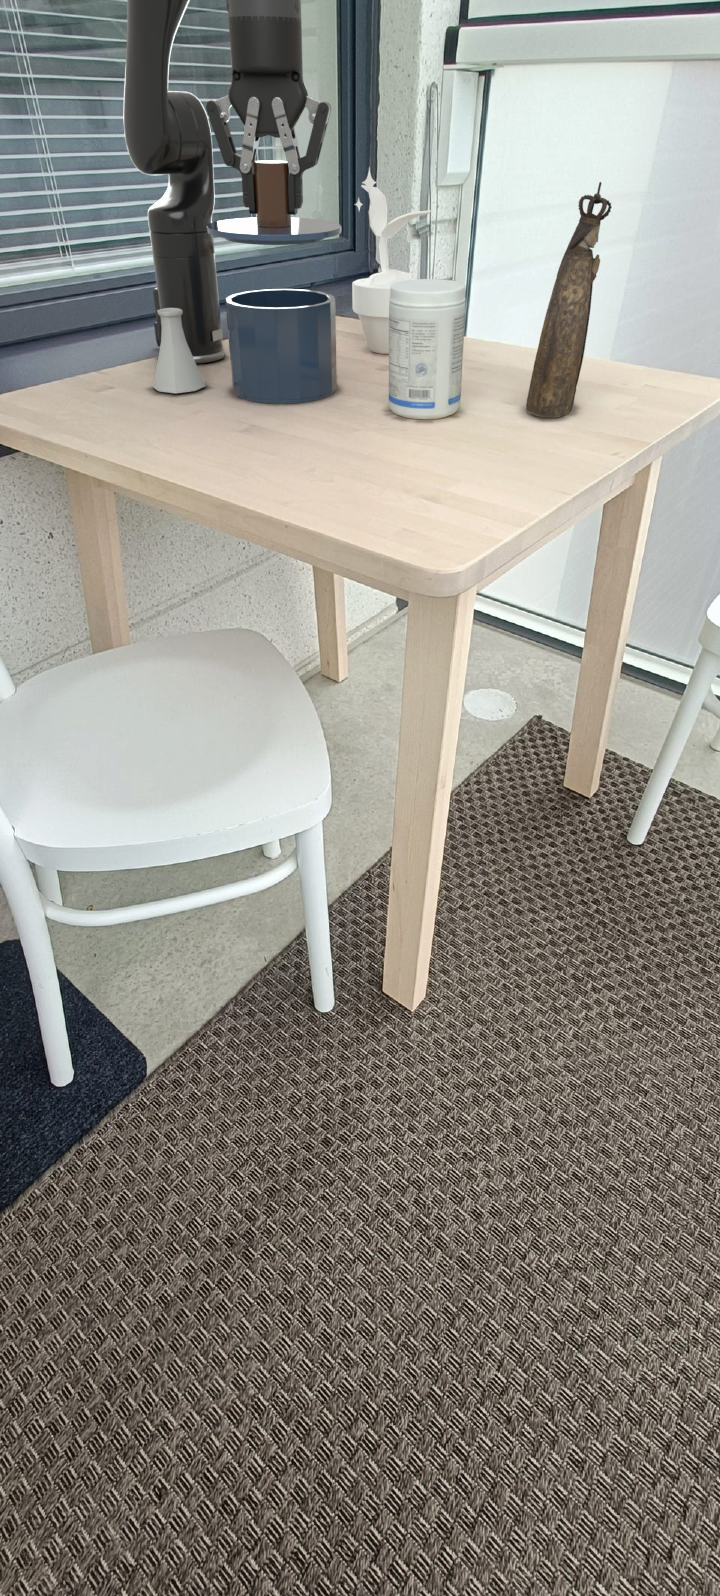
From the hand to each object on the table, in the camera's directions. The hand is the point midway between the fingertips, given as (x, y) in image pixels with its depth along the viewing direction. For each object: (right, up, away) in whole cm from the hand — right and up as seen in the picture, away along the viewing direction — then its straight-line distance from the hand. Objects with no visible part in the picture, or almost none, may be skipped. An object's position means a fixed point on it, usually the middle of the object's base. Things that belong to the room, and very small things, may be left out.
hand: (273, 212), depth 101 cm
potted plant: (+15, +6, +43) cm, 46 cm away
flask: (-16, -9, +25) cm, 31 cm away
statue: (+36, -16, +16) cm, 42 cm away
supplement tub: (+18, -16, +16) cm, 29 cm away
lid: (0, -1, +1) cm, 2 cm away
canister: (-1, -9, +24) cm, 26 cm away
